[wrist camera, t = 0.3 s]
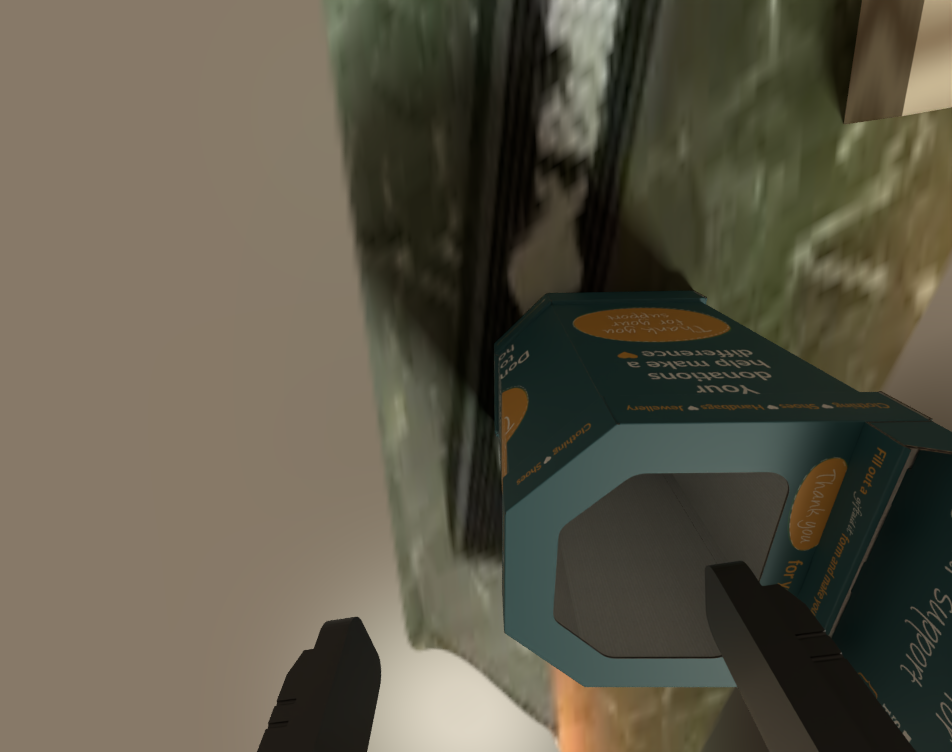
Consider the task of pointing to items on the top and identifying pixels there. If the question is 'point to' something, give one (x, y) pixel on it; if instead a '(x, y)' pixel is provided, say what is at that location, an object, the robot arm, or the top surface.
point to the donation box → (714, 500)
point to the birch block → (901, 59)
